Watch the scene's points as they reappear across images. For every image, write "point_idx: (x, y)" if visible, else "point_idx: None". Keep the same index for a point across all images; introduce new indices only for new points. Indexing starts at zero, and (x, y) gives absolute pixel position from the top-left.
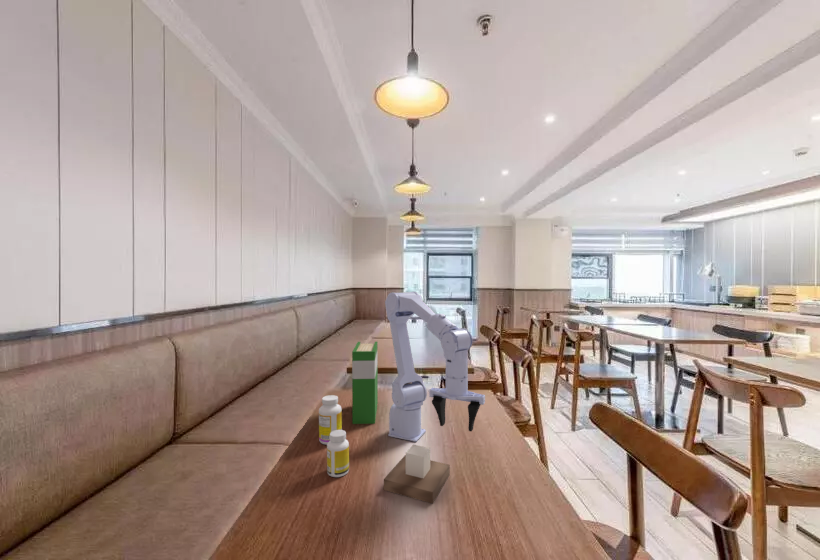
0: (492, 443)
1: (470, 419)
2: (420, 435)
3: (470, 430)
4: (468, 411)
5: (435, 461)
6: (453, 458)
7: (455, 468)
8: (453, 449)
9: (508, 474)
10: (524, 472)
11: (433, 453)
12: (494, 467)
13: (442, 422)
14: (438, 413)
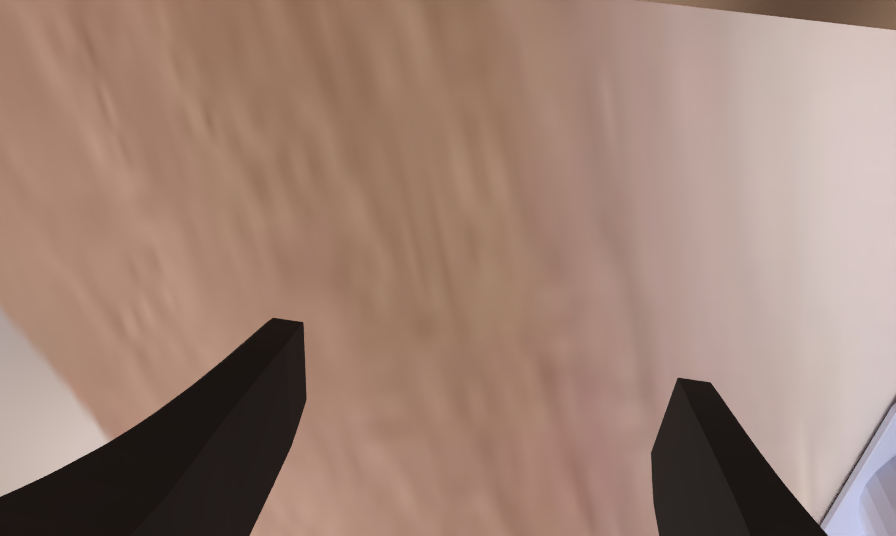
0: (310, 465)
1: (191, 420)
2: (862, 474)
3: (273, 323)
4: (134, 528)
5: (701, 6)
6: (545, 235)
7: (503, 91)
8: (564, 354)
9: (94, 123)
10: (9, 180)
11: (727, 269)
12: (214, 189)
13: (688, 415)
14: (797, 524)
